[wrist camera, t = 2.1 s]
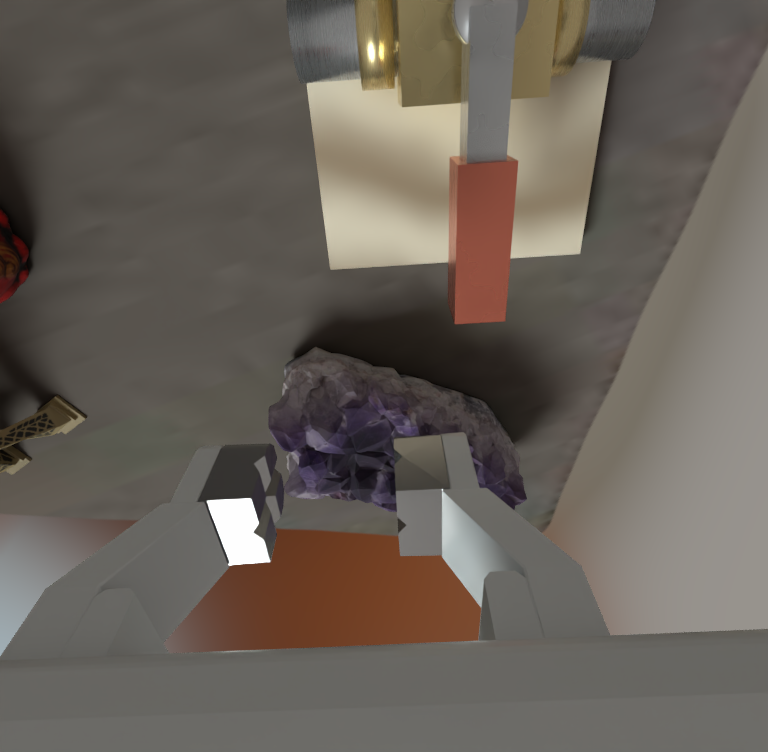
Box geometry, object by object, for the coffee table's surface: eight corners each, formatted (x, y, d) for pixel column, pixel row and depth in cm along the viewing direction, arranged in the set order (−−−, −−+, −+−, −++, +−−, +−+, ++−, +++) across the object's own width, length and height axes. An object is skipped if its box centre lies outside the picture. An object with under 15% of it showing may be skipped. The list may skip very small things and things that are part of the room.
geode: (545, 381, 37) (588, 485, 29) (483, 469, 44) (505, 572, 36) (290, 319, 33) (262, 420, 25) (268, 427, 40) (241, 532, 32)
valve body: (293, -33, 22) (266, -69, 17) (626, -61, 22) (702, -106, 17) (311, 109, 26) (293, 115, 20) (603, 88, 25) (660, 88, 20)
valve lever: (447, -26, 18) (458, -45, 15) (515, -31, 18) (539, -52, 15) (444, 298, 25) (452, 324, 22) (493, 295, 25) (507, 321, 22)
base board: (259, -323, 19) (250, -353, 17) (664, -363, 18) (686, -397, 17) (332, 262, 31) (330, 269, 30) (571, 246, 31) (579, 253, 30)
